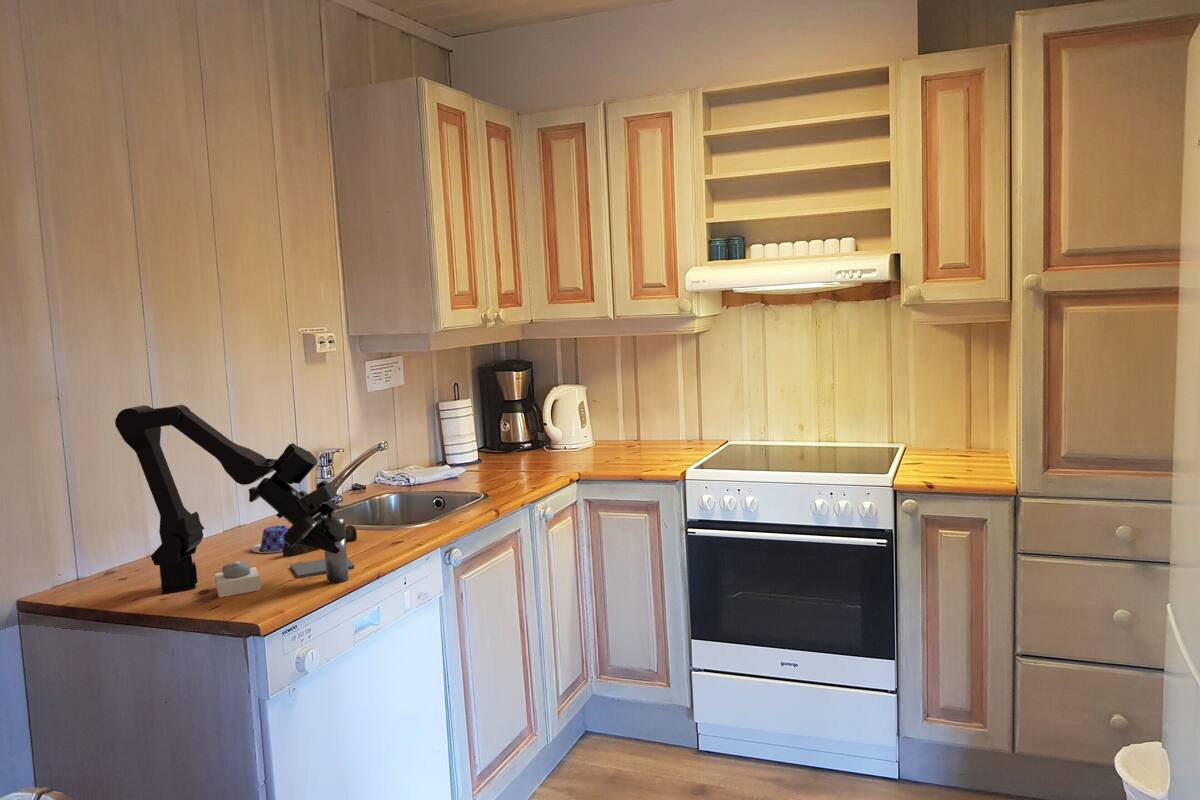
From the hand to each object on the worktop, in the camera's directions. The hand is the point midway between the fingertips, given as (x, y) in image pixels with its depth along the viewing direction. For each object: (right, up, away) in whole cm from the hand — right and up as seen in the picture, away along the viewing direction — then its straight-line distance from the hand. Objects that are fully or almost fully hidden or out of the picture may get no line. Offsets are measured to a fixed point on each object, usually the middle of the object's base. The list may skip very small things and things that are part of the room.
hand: (341, 548), depth 188 cm
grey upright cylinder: (-1, -7, +1) cm, 7 cm away
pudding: (-25, -5, +31) cm, 40 cm away
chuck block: (-21, -8, -2) cm, 23 cm away
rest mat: (-7, -6, +11) cm, 14 cm away
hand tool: (-13, -5, +28) cm, 31 cm away
